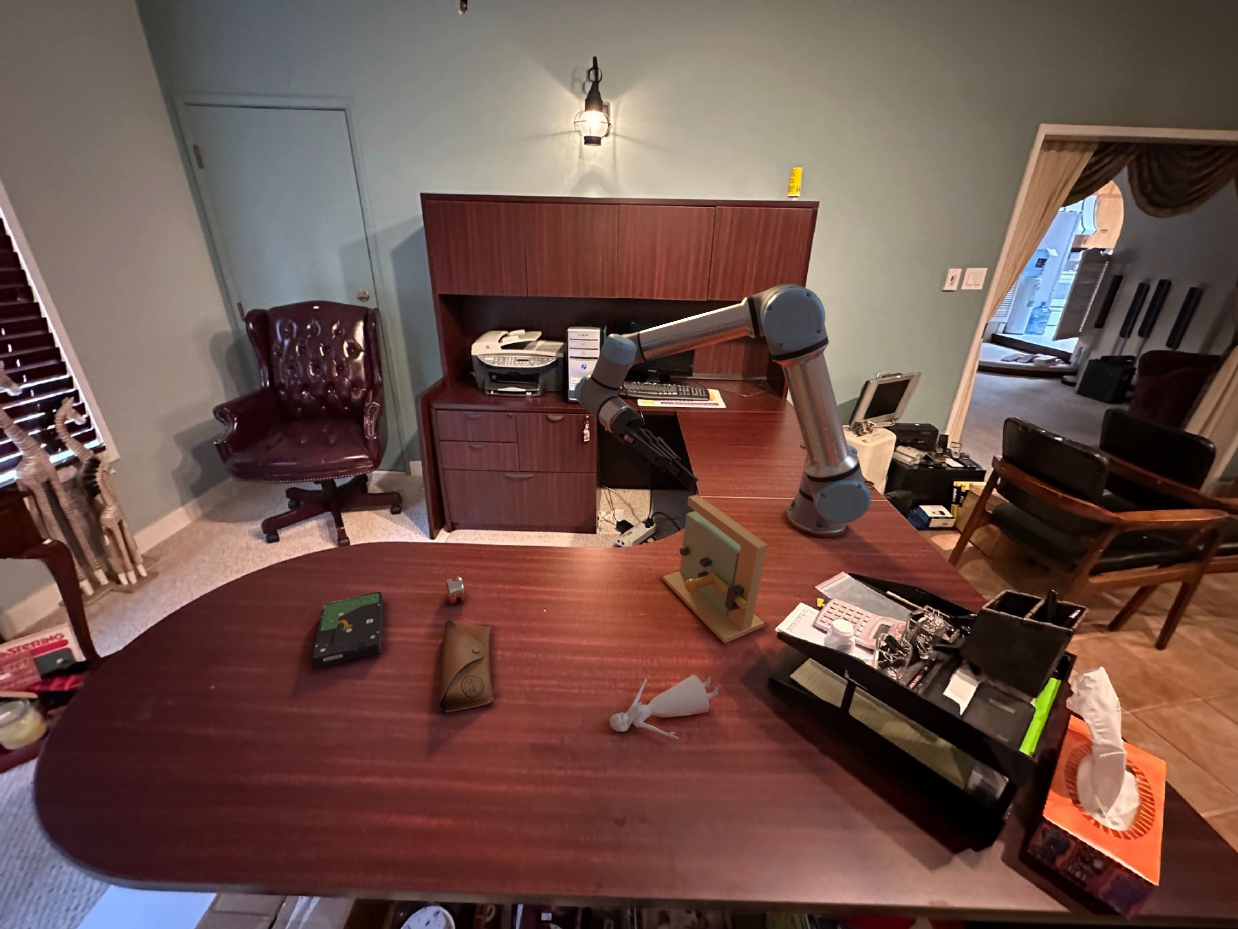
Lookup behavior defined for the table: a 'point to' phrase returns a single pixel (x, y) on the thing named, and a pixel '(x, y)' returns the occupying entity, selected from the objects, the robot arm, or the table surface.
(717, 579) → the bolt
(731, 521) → the door
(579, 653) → the table surface
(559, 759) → the table surface
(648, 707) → the woman figurine
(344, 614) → the disk drive
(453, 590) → the grooved metal pulley
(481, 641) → the sunglasses case
